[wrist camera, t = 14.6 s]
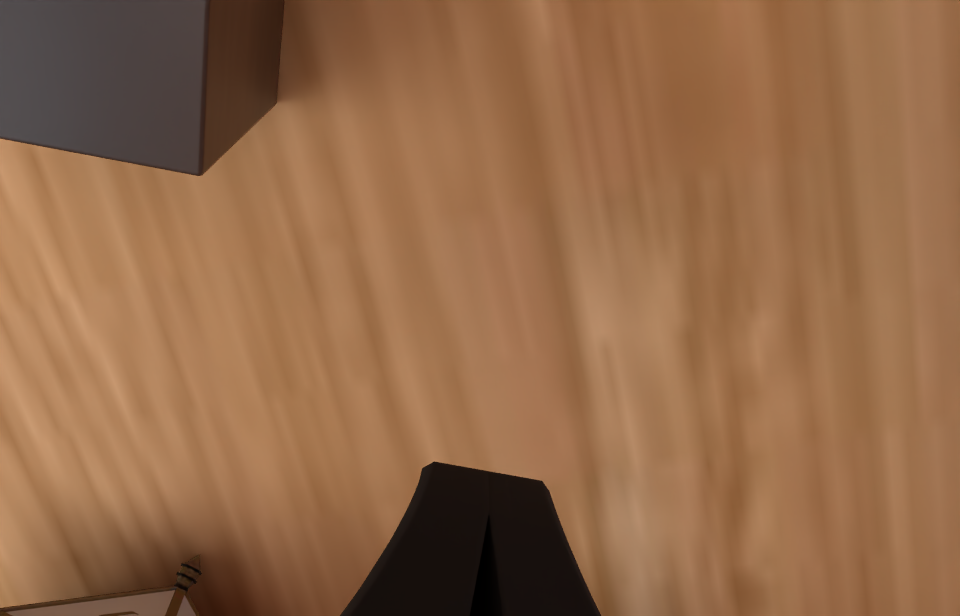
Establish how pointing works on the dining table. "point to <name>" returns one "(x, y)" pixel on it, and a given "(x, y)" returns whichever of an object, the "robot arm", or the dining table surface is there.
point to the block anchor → (138, 76)
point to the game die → (123, 601)
